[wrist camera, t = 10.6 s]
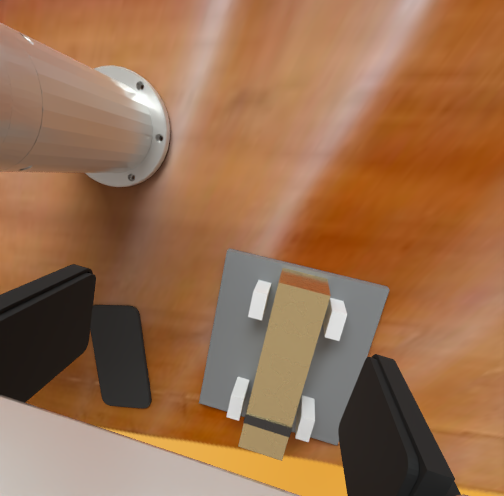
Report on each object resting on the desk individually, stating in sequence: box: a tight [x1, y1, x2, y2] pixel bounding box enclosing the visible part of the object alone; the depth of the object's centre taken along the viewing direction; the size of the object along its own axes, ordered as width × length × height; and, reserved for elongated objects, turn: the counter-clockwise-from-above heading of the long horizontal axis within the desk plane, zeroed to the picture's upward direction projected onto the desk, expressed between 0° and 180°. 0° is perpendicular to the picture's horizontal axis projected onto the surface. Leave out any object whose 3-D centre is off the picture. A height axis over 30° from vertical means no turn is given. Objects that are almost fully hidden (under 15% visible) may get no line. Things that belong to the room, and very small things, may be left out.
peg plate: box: [199, 248, 389, 445], centre depth 36 cm, size 18×21×4 cm
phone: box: [90, 305, 151, 408], centre depth 42 cm, size 7×1×15 cm
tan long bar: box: [238, 268, 331, 461], centre depth 34 cm, size 20×5×5 cm, turn 167°
